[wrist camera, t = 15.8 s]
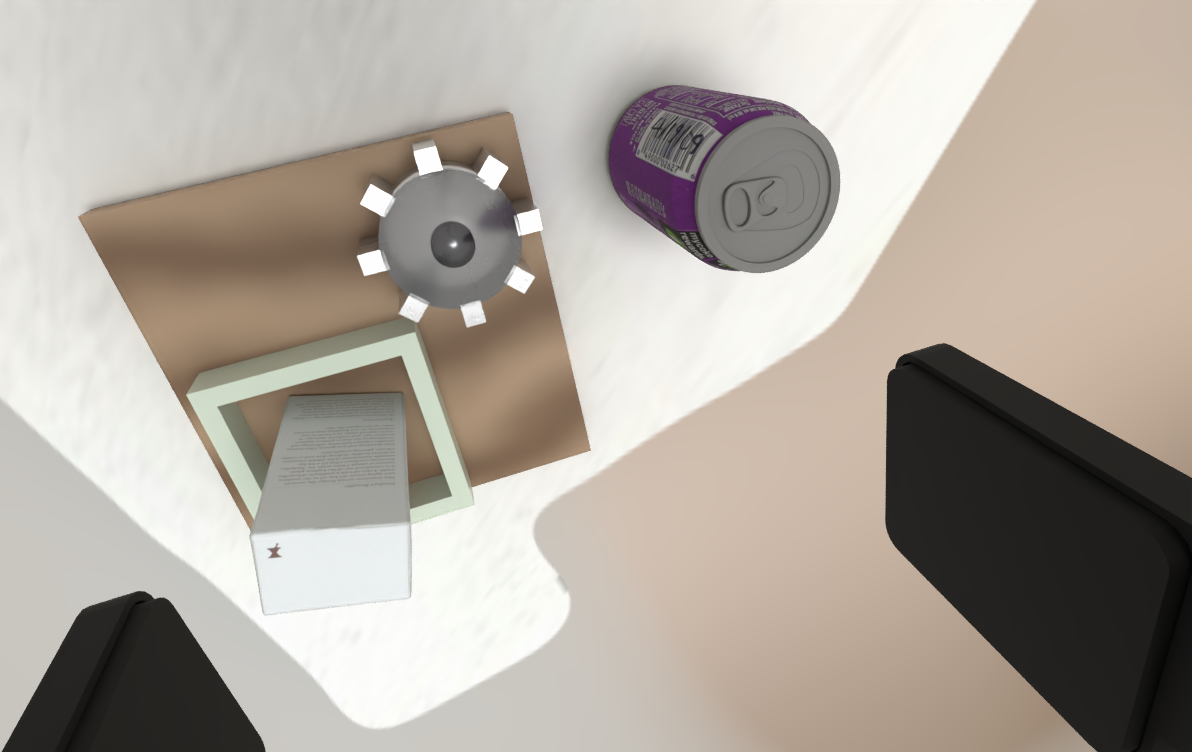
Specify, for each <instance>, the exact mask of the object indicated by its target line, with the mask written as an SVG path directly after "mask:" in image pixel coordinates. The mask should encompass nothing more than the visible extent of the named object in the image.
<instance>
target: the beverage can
mask: <svg viewBox="0 0 1192 752" xmlns="http://www.w3.org/2000/svg"><path fill="white" fill-rule="evenodd" d="M609 167H610V174H611V178H612V182H613V185H614V187H615V190H616V192H617V194H618V195H619V197H620V198H621V200H622V201H623V202H624V204H625V205H626V206H627V207H628V208H629V209H630V210H631V211H633V212H634V213H635V214H637V215H638V216H640V217H641V218H642V219H644V220H645V221H647V222H648V223H649V224H651V225H652V226H653V227H655V228H656V229H658V230H659V231H660V232H662V233H663V234H665V235H666V236H667V237H669V238H670V239H672V240H673V241H674V242H676V243H677V244H679V245H680V246H681V247H683V248H684V249H685V250H687V251H688V252H690V253H691V254H692V255H694V256H695V257H697V258H698V259H700V260H701V261H703V262H705V263H706V264H708V265H710V266H713V267H716V268H719V269H723V270H729V271H744V272H750V273H765V272H771V271H775V270H778V269H781V268H784V267H786V266H788V265H790V264H792V263H794V262H795V261H797V260H798V259H800V258H801V257H803V256H804V255H805V254H806V253H807V252H809V251H810V250H811V249H812V248H813V247H814V246H815V244H816V243H817V242H818V241H819V240H820V238H821V237H822V236H823V234H824V233H825V231H826V229H827V228H828V226H829V224H830V222H831V220H832V218H833V215H834V213H835V210H836V206H837V203H838V198H839V192H840V171H839V165H838V161H837V158H836V155H835V152H834V150H833V148H832V146H831V144H830V143H829V141H828V140H827V138H826V137H825V136H824V135H823V134H822V133H821V132H820V131H819V130H818V129H817V128H816V127H815V126H813V125H812V124H810V123H809V121H808V120H807V119H806V118H805V117H804V116H803V115H802V114H800V113H799V112H798V111H796V110H795V109H793V108H791V107H789V106H788V105H785V104H783V103H780V102H777V101H772V100H767V99H762V98H756V97H750V96H744V95H738V94H731V93H725V92H719V91H713V90H707V89H700V88H694V87H688V86H678V85H675V86H666V87H662V88H659V89H656V90H653V91H651V92H649V93H647V94H645V95H644V96H642V97H641V98H640V99H638V100H637V101H636V102H635V103H634V104H632V106H631V107H630V108H629V109H628V110H627V111H626V112H625V114H624V115H623V117H622V118H621V120H620V121H619V123H618V125H617V127H616V129H615V132H614V135H613V138H612V141H611V146H610V153H609Z"/></svg>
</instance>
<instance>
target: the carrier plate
mask: <svg viewBox="0 0 1192 752" xmlns="http://www.w3.org/2000/svg"><path fill="white" fill-rule="evenodd" d="M431 138H433V140H434V143H435V146H436V149H437V152H438V156H439V159H440V160H454V161H459V162H463V163H466V164H469V165H472V164H473V162H474V160H475V158H476V157H477V155H478V153H479V151H480V150H481V148H482V147H483V148H485V149H487V150H488V151H490V152H491V153H493V154H495V155H496V156H498V157H499V158H500V159H501V160H502V161H503V162H504V163H505V164H506V165H507V167H508V169H507V171H506V172H505V174H504V176H503V178H502V179H501V181H500V183H499V184H498V186H499V187H500V188H501V190H502V191H503V193H504V194H505V195H506V197H507V198H508V200H509V201H514V200H518V199H522V198H526V197H528V198H529V199H530V200H531V201H532V203H533V200H532V196H531V192H530V187H529V183H528V179H527V174H526V170H525V166H524V161H523V157H522V153H521V149H520V144H519V140H518V136H517V131H516V127H515V123H514V119H513V115H512V114H511V113H509V112H506V113H502V114H497V115H493V116H489V117H484V118H480V119H476V120H472V121H467V122H463V123H459V124H455V125H450V126H446V127H442V128H438V129H433V130H429V131H425V132H420V133H416V134H412V135H408V136H403V137H399V138H395V139H391V140H386V141H382V142H378V143H374V144H369V145H365V146H361V147H357V148H352V149H348V150H344V151H339V152H335V153H331V154H327V155H322V156H318V157H314V158H310V159H305V160H301V161H297V162H293V163H288V164H284V165H280V166H275V167H271V168H267V169H263V170H258V171H254V172H250V173H246V174H241V175H237V176H233V177H229V178H224V179H220V180H216V181H212V182H207V183H203V184H199V185H194V186H190V187H186V188H182V189H177V190H173V191H169V192H165V193H160V194H156V195H152V196H148V197H143V198H139V199H135V200H130V201H126V202H122V203H118V204H113V205H109V206H105V207H101V208H96V209H92V210H90V211H88V212H86V213H84V214H82V215H81V216H79V217H78V218H79V220H80V221H81V223H82V225H83V227H84V229H85V231H86V232H87V234H88V236H89V238H90V240H91V241H92V243H93V245H94V247H95V249H96V250H97V252H98V254H99V256H100V258H101V260H102V261H103V263H104V265H105V267H106V269H107V270H108V272H109V274H110V276H111V278H112V280H113V281H114V283H115V285H116V287H117V289H118V290H119V292H120V294H121V296H122V298H123V300H124V301H125V303H126V305H127V307H128V309H129V310H130V312H131V314H132V316H133V318H134V320H135V321H136V323H137V325H138V327H139V329H140V330H141V332H142V334H143V336H144V338H145V339H146V341H147V343H148V345H149V347H150V349H151V350H152V352H153V354H154V356H155V358H156V359H157V361H158V363H159V365H160V367H161V369H162V370H163V372H164V374H165V376H166V378H167V379H168V381H169V383H170V385H171V387H172V389H173V390H174V392H175V394H176V396H177V398H178V399H179V401H180V403H181V405H182V407H183V409H184V410H185V412H186V414H187V416H188V418H189V419H190V421H191V423H192V425H193V427H194V428H195V430H196V432H197V434H198V436H199V438H200V439H201V441H202V443H203V445H204V447H205V448H206V450H207V452H208V454H209V456H210V458H211V459H212V461H213V463H214V465H215V467H216V468H217V470H218V472H219V474H220V476H221V478H222V479H223V481H224V483H225V485H226V487H227V488H228V490H229V492H230V494H231V496H232V498H233V499H234V501H235V503H236V505H237V507H238V508H239V510H240V512H241V514H242V516H243V517H244V519H245V521H246V523H247V525H248V527H249V528H250V530H251V529H252V526H253V523H254V519H253V517H252V515H251V513H250V512H249V510H248V508H247V506H246V504H245V502H244V501H243V499H242V497H241V495H240V493H239V491H238V490H237V488H236V486H235V484H234V482H233V480H232V478H231V477H230V475H229V473H228V471H227V469H226V467H225V466H224V464H223V462H222V460H221V458H220V456H219V454H218V453H217V451H216V449H215V447H214V445H213V443H212V442H211V440H210V438H209V436H208V434H207V432H206V431H205V429H204V427H203V425H202V423H201V421H200V419H199V418H198V416H197V414H196V412H195V410H194V408H193V407H192V405H191V403H190V401H189V399H188V397H187V396H186V394H187V393H188V391H189V389H190V388H191V386H192V384H193V382H194V381H195V379H196V377H197V376H198V374H199V373H201V372H204V371H208V370H212V369H215V368H219V367H223V366H227V365H230V364H234V363H238V362H241V361H245V360H249V359H252V358H256V357H260V356H263V355H267V354H271V353H275V352H278V351H282V350H286V349H289V348H293V347H297V346H300V345H304V344H308V343H312V342H315V341H319V340H323V339H326V338H330V337H334V336H337V335H341V334H345V333H348V332H352V331H356V330H360V329H363V328H367V327H371V326H374V325H378V324H382V323H385V322H389V321H393V320H396V319H400V318H404V317H405V316H403V315H401V314H399V292H400V291H401V288H400V287H399V286H398V285H397V284H396V283H395V282H394V281H393V279H392V278H391V277H390V275H389V273H388V272H387V270H386V271H382V272H378V273H374V274H371V275H367V276H364V274H363V271H362V268H361V265H360V263H359V260H358V257H357V253H358V247H359V242H360V239H363V238H367V237H371V236H375V235H379V223H380V214H378V213H376V212H374V211H372V210H370V209H369V208H367V207H365V206H363V205H361V204H360V203H361V198H362V194H363V190H364V188H365V187H366V185H367V183H368V181H369V179H370V177H371V175H372V173H374V174H375V175H377V176H379V177H381V178H382V179H384V180H386V181H388V182H389V183H391V184H394V183H395V182H396V180H397V179H398V178H399V177H401V176H402V175H403V174H404V173H405V172H407V171H408V170H410V169H411V168H413V167H415V166H418V165H417V162H416V159H415V155H414V152H413V146H412V143H414V142H418V141H422V140H427V139H431ZM520 258H522V259H524V260H525V261H526V262H527V264H528V266H529V268H530V269H531V271H532V273H533V274H534V276H535V278H534V279H533V281H532V283H531V284H530V286H529V287H528V289H527V291H526V292H525V294H524V293H522V292H520V291H518V290H517V289H515V288H513V287H511V286H509V285H507V284H506V285H505V286H504V287H503V288H502V289H501V290H500V291H499V292H498V293H497V294H496V295H494V296H493V297H491V298H490V299H488V300H486V301H484V302H482V303H481V305H482V308H483V312H484V315H485V319H486V322H485V323H481V324H478V325H474V326H471V327H467V326H466V323H465V320H464V317H463V313H462V310H461V308H460V309H443V308H437V307H433V306H430V305H428V306H427V308H426V310H425V312H424V313H423V315H422V317H421V318H420V320H419V322H418V323H417V325H418V328H419V331H420V334H421V337H422V340H423V343H424V346H425V349H426V351H427V354H428V357H429V360H430V363H431V366H432V369H433V372H434V375H435V378H436V381H437V384H438V387H439V390H440V393H441V396H442V398H443V401H444V404H445V407H446V410H447V413H448V416H449V419H450V422H451V425H452V428H453V431H454V434H455V437H456V440H457V442H458V445H459V448H460V451H461V454H462V457H463V460H464V463H465V466H466V469H467V472H468V475H469V478H470V481H471V487H474V486H477V485H481V484H484V483H487V482H490V481H494V480H497V479H500V478H503V477H507V476H510V475H513V474H516V473H519V472H523V471H526V470H529V469H532V468H536V467H539V466H542V465H545V464H549V463H552V462H555V461H558V460H562V459H565V458H568V457H571V456H575V455H578V454H581V453H584V452H587V451H591V449H590V445H589V441H588V437H587V432H586V428H585V424H584V419H583V415H582V411H581V406H580V402H579V398H578V394H577V389H576V385H575V381H574V376H573V372H572V368H571V363H570V359H569V355H568V351H567V346H566V342H565V338H564V333H563V329H562V325H561V320H560V316H559V312H558V308H557V303H556V299H555V295H554V290H553V286H552V282H551V278H550V273H549V269H548V265H547V260H546V256H545V252H544V247H543V243H542V239H541V235H540V231H536V232H532V233H528V234H524V235H522V251H521V256H520ZM399 392H401V393H403V395H404V400H405V422H406V445H407V467H408V484H412V483H415V482H418V481H422V480H425V479H428V478H432V477H435V476H438V475H441V474H444V472H443V469H442V466H441V463H440V461H439V458H438V455H437V452H436V450H435V447H434V444H433V441H432V438H431V436H430V433H429V430H428V427H427V425H426V422H425V419H424V416H423V413H422V411H421V408H420V405H419V402H418V400H417V397H416V394H415V391H414V389H413V386H412V383H411V380H410V377H409V375H408V372H407V369H406V366H405V364H404V361H403V358H402V355H401V356H397V357H394V358H390V359H387V360H383V361H379V362H376V363H372V364H369V365H365V366H361V367H358V368H354V369H351V370H347V371H343V372H340V373H336V374H333V375H329V376H325V377H322V378H318V379H315V380H311V381H307V382H304V383H300V384H297V385H293V386H289V387H286V388H282V389H279V390H275V391H271V392H268V393H264V394H261V395H257V396H253V397H250V398H246V399H243V400H239V401H237V403H238V405H239V407H240V409H241V411H242V413H243V415H244V417H245V419H246V421H247V423H248V425H249V427H250V429H251V431H252V433H253V435H254V437H255V439H256V441H257V443H258V445H259V447H260V449H261V451H262V453H263V455H264V457H265V458H266V460H267V462H268V464H269V465H270V461H271V457H272V454H273V450H274V447H275V443H276V440H277V437H278V433H279V429H280V425H281V422H282V418H283V414H284V410H285V407H286V404H287V400H288V398H289V397H290V396H311V395H341V394H372V393H399Z"/></svg>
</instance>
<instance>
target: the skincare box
mask: <svg viewBox="0 0 1192 752" xmlns="http://www.w3.org/2000/svg"><path fill="white" fill-rule="evenodd" d="M250 541H251V546H252V552H253V557H254V563H255V569H256V575H257V581H258V587H259V593H260V599H261V605H262V611H263V614H264V615H275V614H282V613H290V612H298V611H307V610H315V609H324V608H333V607H342V606H350V605H358V604H367V603H376V602H385V601H393V600H403V599H409V598H410V597H411V578H412V567H411V517H410V503H409V487H408V467H407V445H406V422H405V400H404V395H403V393H401V392H399V393H372V394H341V395H311V396H290V397H289V398H288V400H287V404H286V407H285V410H284V414H283V418H282V422H281V425H280V429H279V433H278V437H277V440H276V443H275V447H274V450H273V454H272V457H271V461H270V465H269V469H268V472H267V476H266V479H265V483H264V487H263V490H262V494H261V498H260V502H259V506H258V510H257V513H256V516H255V519H254V523H253V526H252V529H251V533H250Z"/></svg>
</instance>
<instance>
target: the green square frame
mask: <svg viewBox="0 0 1192 752" xmlns="http://www.w3.org/2000/svg"><path fill="white" fill-rule="evenodd" d="M401 355H402V358H403V361H404V364H405V366H406V369H407V372H408V375H409V377H410V380H411V383H412V386H413V389H414V391H415V394H416V397H417V400H418V402H419V405H420V408H421V411H422V413H423V416H424V419H425V422H426V425H427V427H428V430H429V433H430V436H431V438H432V441H433V444H434V447H435V450H436V452H437V455H438V458H439V461H440V463H441V466H442V469H443V472H444V474H441V475H438V476H435V477H432V478H428V479H425V480H422V481H418V482H415V483H412V484H408V487H409V503H410V517H411V524H414V523H417V522H420V521H423V520H427V519H430V518H433V517H436V516H439V515H443V514H446V513H449V512H452V511H455V510H459V509H462V508H465V507H468V506H471V505H474V499H473V493H472V487H471V481H470V478H469V475H468V472H467V469H466V466H465V463H464V460H463V457H462V454H461V451H460V448H459V445H458V442H457V440H456V437H455V434H454V431H453V428H452V425H451V422H450V419H449V416H448V413H447V410H446V407H445V404H444V401H443V398H442V396H441V393H440V390H439V387H438V384H437V381H436V378H435V375H434V372H433V369H432V366H431V363H430V360H429V357H428V354H427V351H426V349H425V346H424V343H423V340H422V337H421V334H420V331H419V328H418V325H417V322H415V321H413V320H411V319H409V318H407V317H404V318H400V319H396V320H393V321H389V322H385V323H382V324H378V325H374V326H371V327H367V328H363V329H360V330H356V331H352V332H348V333H345V334H341V335H337V336H334V337H330V338H326V339H323V340H319V341H315V342H312V343H308V344H304V345H300V346H297V347H293V348H289V349H286V350H282V351H278V352H275V353H271V354H267V355H263V356H260V357H256V358H252V359H249V360H245V361H241V362H238V363H234V364H230V365H227V366H223V367H219V368H215V369H212V370H208V371H204V372H201V373H199V374H198V376H197V377H196V379H195V381H194V382H193V384H192V386H191V388H190V389H189V391H188V393H187V394H186V396H187V397H188V399H189V401H190V403H191V405H192V407H193V408H194V410H195V412H196V414H197V416H198V418H199V419H200V421H201V423H202V425H203V427H204V429H205V431H206V432H207V434H208V436H209V438H210V440H211V442H212V443H213V445H214V447H215V449H216V451H217V453H218V454H219V456H220V458H221V460H222V462H223V464H224V466H225V467H226V469H227V471H228V473H229V475H230V477H231V478H232V480H233V482H234V484H235V486H236V488H237V490H238V491H239V493H240V495H241V497H242V499H243V501H244V502H245V504H246V506H247V508H248V510H249V512H250V513H251V515H252V517H253V519H255V516H256V513H257V510H258V506H259V502H260V498H261V494H262V490H263V487H264V483H265V479H266V476H267V472H268V469H269V464H268V462H267V460H266V458H265V457H264V455H263V453H262V451H261V449H260V447H259V445H258V443H257V441H256V439H255V437H254V435H253V433H252V431H251V429H250V427H249V425H248V423H247V421H246V419H245V417H244V415H243V413H242V411H241V409H240V407H239V405H238V403H237V401H239V400H243V399H246V398H250V397H253V396H257V395H261V394H264V393H268V392H271V391H275V390H279V389H282V388H286V387H289V386H293V385H297V384H300V383H304V382H307V381H311V380H315V379H318V378H322V377H325V376H329V375H333V374H336V373H340V372H343V371H347V370H351V369H354V368H358V367H361V366H365V365H369V364H372V363H376V362H379V361H383V360H387V359H390V358H394V357H397V356H401Z"/></svg>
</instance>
